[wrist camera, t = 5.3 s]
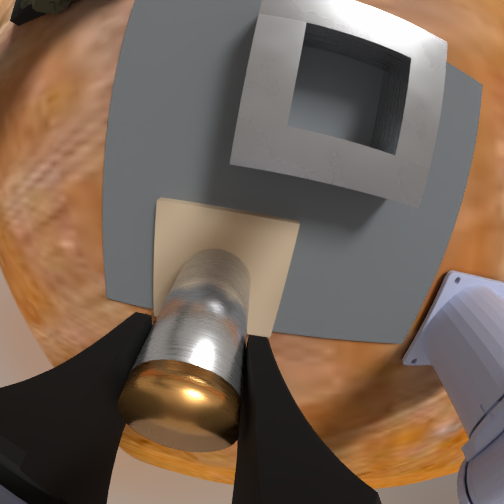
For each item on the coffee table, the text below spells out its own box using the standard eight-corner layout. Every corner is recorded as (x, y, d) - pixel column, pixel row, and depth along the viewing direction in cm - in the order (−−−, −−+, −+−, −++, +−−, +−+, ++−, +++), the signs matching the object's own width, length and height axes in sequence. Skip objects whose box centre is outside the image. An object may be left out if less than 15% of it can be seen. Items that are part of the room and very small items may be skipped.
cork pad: (298, 220, 14) (300, 224, 14) (270, 330, 17) (270, 337, 16) (160, 197, 14) (156, 200, 13) (156, 310, 17) (153, 315, 16)
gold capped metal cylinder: (259, 259, 13) (253, 408, 6) (241, 316, 15) (225, 459, 7) (187, 240, 13) (111, 371, 6) (177, 300, 14) (122, 432, 7)
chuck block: (417, 54, 10) (447, 42, 7) (391, 192, 13) (419, 208, 10) (266, 8, 10) (266, -20, 7) (236, 157, 13) (229, 164, 10)
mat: (478, 85, 10) (482, 84, 10) (400, 340, 18) (401, 343, 17) (137, 2, 10) (135, -1, 9) (109, 294, 17) (107, 298, 16)
